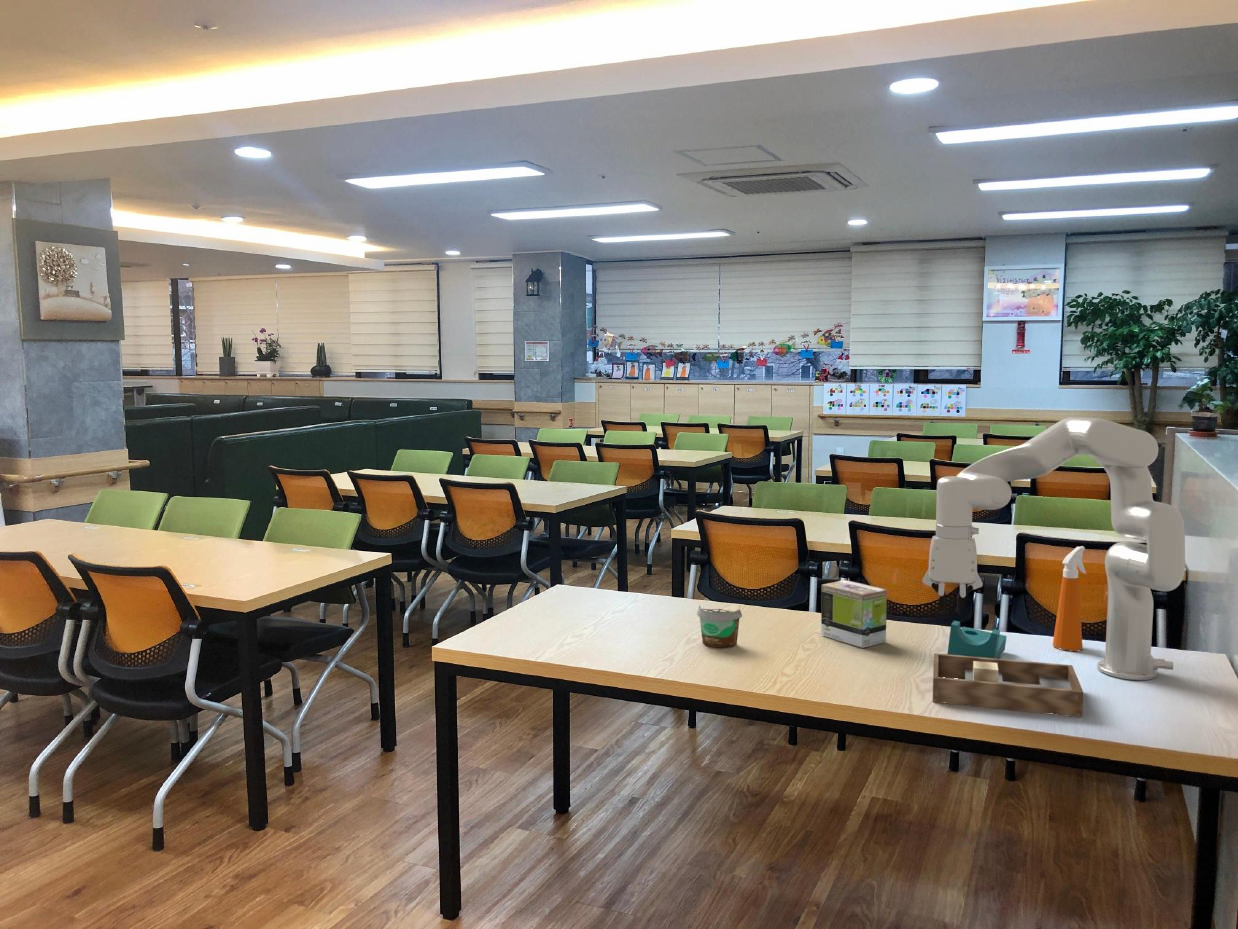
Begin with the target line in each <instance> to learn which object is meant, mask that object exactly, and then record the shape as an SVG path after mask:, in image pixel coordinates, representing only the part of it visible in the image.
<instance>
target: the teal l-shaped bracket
mask: <svg viewBox="0 0 1238 929" xmlns="http://www.w3.org/2000/svg"><path fill="white" fill-rule="evenodd" d="M949 629H950V632H949V639H948V646H947V653H946V654H948V655H960V656H971V657H983V658H994V659H1001V657H1002V655H1003V653H1004V652H1005V650H1006V645H1007V635H1004V634H1001V630H1000V629H995V628H994V629H993V630H992V631H991V632H990V631H985V630H982V629H981V630H980V629H977V628H972V627H966V626H961V621H957V620H953V621H952V623H951V624H950V628H949Z"/></svg>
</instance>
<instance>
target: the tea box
mask: <svg viewBox="0 0 1238 929" xmlns="http://www.w3.org/2000/svg"><path fill="white" fill-rule="evenodd" d="M887 591H888V589H886V588H882V587H877V586H873V585H868V584H865V583H860V582H857V581H851V580H847V579H843V580H838V581H834V582H828V583H823V584H821V602H820V603H821V604H820V606H821V608H820V609H821V612H820V614H821V616H820V617H821V618H820V623H821V624H820V627H821V629H820V633H821V636H822V635H823V637H826V638H829V639H833V640H835V641H838V642H842V643H845V644H849V645H852V646H856V647H858V648H861V649H864V648H868V647H873V646H876V645H880V644H883V643H886V641H887V639H886V638H887V600H888V599H887V597H888V596H887V595H888V594H887V593H888V592H887Z"/></svg>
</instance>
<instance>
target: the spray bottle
mask: <svg viewBox="0 0 1238 929" xmlns="http://www.w3.org/2000/svg"><path fill="white" fill-rule="evenodd" d="M1085 550H1086V548H1085V546H1083V545H1081V546H1076V547H1075V548H1074V549H1073V550H1071V552H1069V553H1068V554H1067V555H1066V556H1065V557H1064V558H1063V561H1062V562H1061V564H1062V565H1064V568H1062V579H1061V587H1060V592H1059V599H1058V600H1059V601H1058V606H1057V613H1056V619H1055V620H1056V621H1055V627H1054V634H1053V638H1052V639H1053V640H1052V646H1053V647H1054V648H1055V647H1057V648H1061V649H1063V650H1062V651H1064V650H1071V651H1070V652H1078V650H1080V651H1081V650H1083V649H1084V648H1083V634H1082V632H1083V631H1082V618H1081V616H1082V615H1081V601H1080V600H1081V599H1080V586H1079V585H1080V584H1079V570H1080V573H1083V574H1085V575H1087V572H1086V569H1085V566H1084V564H1083V555H1084V554H1083V552H1085ZM1057 648H1056V649H1057Z"/></svg>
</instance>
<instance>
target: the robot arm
mask: <svg viewBox="0 0 1238 929" xmlns="http://www.w3.org/2000/svg"><path fill="white" fill-rule="evenodd" d="M1158 454H1159V445H1158V442H1157V440H1156V438H1155V437H1154V436H1153V435H1152V434H1150V432H1147V431H1145V430H1141V429H1138V428H1134V427H1131V426H1128V425H1124V424H1121V423H1119V422H1118V423H1117V422H1115V421H1111V420H1108V419H1102V418H1098V417H1086V416H1069V417H1065V418H1063V419H1060V420H1059V421H1058V422H1056V423H1054V424H1052V425H1050V426H1049V427H1048V428H1046V429H1045V430H1043V431H1042V432H1040V433H1038V434H1036V435H1035V436H1033V437H1031V438H1030V439H1028V440H1027V441H1026V442H1024V443H1021V444H1020V445H1017V446H1014V447H1011V448H1008V449H1005V450H1002V451H999V452H996V453H993V454H990V455H988V456H985V457H983V458H981V459H979V460H977V461H975V462H973V463H972V464H970V465H969V466H967V467H965V468H964V469H963V470H961V471H960V472H959V473H957V475H956V476H954V475H951V476H950V475H949V476H943V477H941V478H939V479H938V480H937V483H936V508H935V509H936V510H935V516H936V517H935V535H933V536H932V538H931V541H930V544H929V545H930V547H929V556H928V557H929V558H928V569H927V571H926V572H925V575H923V578H922V583H923V584H924V585H926V586H928V587H931V588H932V590H934V591H935V593H937V595H938V596H939V600H938V601H939V606H938V607H939V610H942V611H941V612H942V614H946V613H947V593H946V591H945V586H946V583H947V584H958V585H959V591H958V594H957V595H956V596H957V597H956V614H957V615H958V616H961V611H965V597H966V596H967V595H969V594H970V593H971V592H972V591H973V590H977V589H979V588H982V587H983V581H982V579H981V577H980V575H979V573H978V556H977V555H978V554H977V553H978V552H977V543H976V539H975V537H973V536H974V535H979V533H980V530H979V527H974V526H973V509H976V510H977V509H979V510H988V511H993V510H1000V509H1001V508H1002V509H1003V507H1005V506H1007V505H1008V504H1009V502H1010V500H1011V498H1012V488H1011V486H1010V484H1009V483H1008V482H1014V481H1020V480H1022V481H1023V480H1031V479H1036V478H1041V477H1044V476H1047V475H1049V474H1050V473H1051V472H1052V471H1054V470H1056V469H1057V468H1059V467H1060V466H1062V465H1064V464H1065V463H1067V462H1068V461H1070V460H1071V459H1074V458H1075V457H1077V456H1079V455H1084V456H1089V457H1090V458H1091V459H1092V460H1093V461H1095V462H1097V463H1098V464H1099V465H1100V466H1101V467H1102V468H1103V469H1104V471H1105V472H1106V474H1107V475H1108V479H1109V483H1110V484H1109V485H1110V486H1109V487H1110V518H1111V526H1112V528H1113V530H1114V532H1115V533H1117V534H1118V535H1120V536H1123V537H1126V538H1128V539H1129V538H1130V539H1133V540H1137V541H1143V542H1145V543H1146V544H1143V543H1138V542H1134V541H1120V542H1116V543H1115V544H1113V545H1112V546H1110V547H1109V549H1108V550H1107V551H1106V554H1105V557H1104V567H1105V573H1106V579H1107V592H1108V593H1107V610H1106V615H1107V616H1106V632H1105V633H1106V634H1105V651H1104V652H1105V654H1104V655H1105V656H1104V657H1105V658H1104V659H1102V660H1100V661H1098V662H1097V669H1098V671H1100V672H1101V673H1103V674H1105V675H1108V676H1111V677H1114V678H1118V679H1122V680H1123V679H1125V680H1132V681H1147V680H1153V679H1156V678H1157V677H1158V669H1164V670H1171V671H1173V670H1174V662H1173V661H1171V660H1165V658H1155V657H1153V655H1152V654H1151V653H1152V636H1153V619H1154V618H1153V617H1154V598H1153V594H1152V590H1155V591H1159V592H1170V591H1174V590H1175V589H1177V588H1178V587H1179V586H1180V585H1181V583H1182V582H1183V579H1184V576H1185V569H1186V530H1185V529H1186V527H1185V526H1186V525H1185V522H1184V519H1183V515H1182V514H1181V512H1180V510H1178V509H1177V508H1176V507H1175V506H1173V505H1172V504H1169V503H1165V502H1160V501H1155V500H1154V499H1153V488H1152V487H1153V486H1152V476H1151V472H1150V470H1149V466H1151V464H1153V463H1154V462H1155V460H1156V459H1157V458H1158Z"/></svg>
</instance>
